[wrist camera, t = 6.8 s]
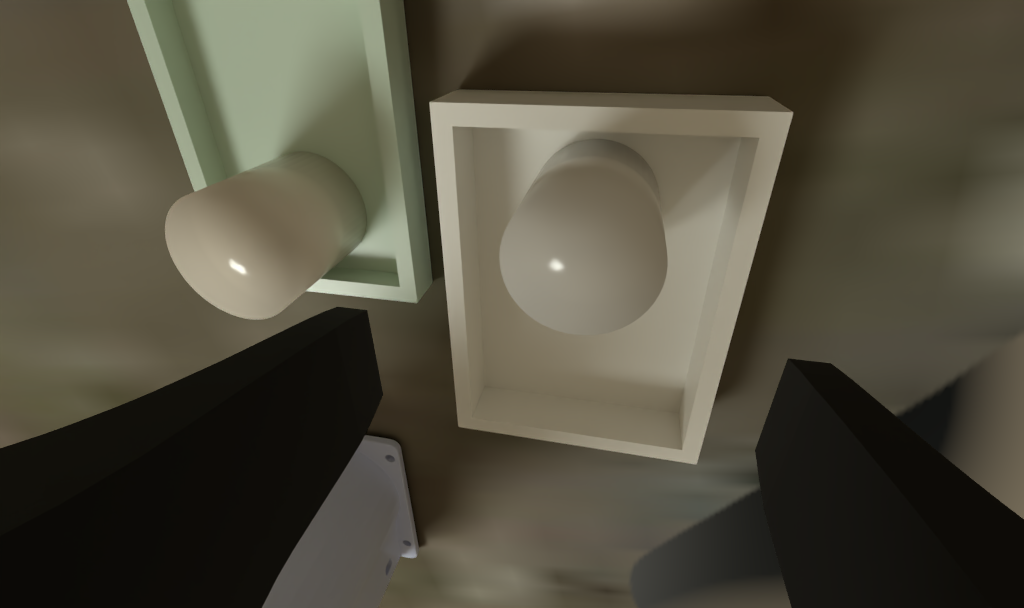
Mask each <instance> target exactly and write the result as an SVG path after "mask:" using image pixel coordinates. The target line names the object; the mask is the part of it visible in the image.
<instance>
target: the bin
mask: <svg viewBox="0 0 1024 608" xmlns="http://www.w3.org/2000/svg"><path fill="white" fill-rule="evenodd" d="M429 104H430V115H431V127H432V138H433V149H434V160H435V172H436V183H437V194H438V205H439V216H440V228H441V239H442V250H443V261H444V273H445V284H446V295H447V306H448V318H449V329H450V340H451V351H452V362H453V374H454V385H455V396H456V407H457V419H458V427H462V428H469V429H475V430H481V431H488V432H494V433H500V434H507V435H513V436H519V437H526V438H532V439H538V440H545V441H551V442H557V443H564V444H570V445H576V446H583V447H589V448H595V449H602V450H608V451H614V452H621V453H627V454H633V455H640V456H646V457H652V458H659V459H665V460H671V461H678V462H684V463H690V464H697V461H698V458H699V454H700V450H701V447H702V443H703V439H704V436H705V432H706V428H707V425H708V421H709V418H710V414H711V410H712V407H713V403H714V399H715V396H716V392H717V389H718V385H719V381H720V378H721V374H722V370H723V367H724V363H725V359H726V356H727V352H728V349H729V345H730V341H731V338H732V334H733V330H734V327H735V323H736V320H737V316H738V312H739V309H740V305H741V301H742V298H743V294H744V290H745V287H746V283H747V280H748V276H749V272H750V269H751V265H752V261H753V258H754V254H755V251H756V247H757V243H758V240H759V236H760V232H761V229H762V225H763V221H764V218H765V214H766V211H767V207H768V203H769V200H770V196H771V192H772V189H773V185H774V182H775V178H776V174H777V171H778V167H779V163H780V160H781V156H782V152H783V149H784V145H785V142H786V138H787V134H788V131H789V127H790V123H791V120H792V116H793V112H792V111H791V110H789V109H788V108H786V107H785V106H783V105H782V104H780V103H779V102H777V101H775V100H774V99H772V98H771V97H769V96H732V95H688V94H644V93H599V92H555V91H511V90H467V89H457V90H455V91H453V92H451V93H448V94H446V95H444V96H442V97H440V98H437V99H435V100H433V101H431V102H429ZM587 139H606V140H612V141H615V142H619V143H621V144H624V145H626V146H628V147H630V148H631V149H633V150H634V151H636V152H637V153H638V154H639V155H641V156H642V157H643V159H644V160H645V161H646V162H647V163H648V165H649V166H650V167H651V169H652V171H653V173H654V175H655V177H656V180H657V183H658V187H659V193H660V200H661V208H662V216H663V224H664V232H665V240H666V248H667V257H668V267H667V274H666V279H665V282H664V286H663V288H662V290H661V292H660V294H659V296H658V298H657V299H656V301H655V302H654V304H653V305H652V306H651V307H650V308H649V310H648V311H647V312H646V313H644V314H643V315H642V316H641V317H640V318H638V319H637V320H636V321H634V322H633V323H631V324H629V325H627V326H625V327H623V328H621V329H618V330H615V331H613V332H609V333H604V334H598V335H574V334H568V333H563V332H560V331H557V330H553V329H551V328H549V327H547V326H544V325H543V324H541V323H539V322H537V321H536V320H534V319H533V318H531V317H530V316H529V315H527V314H526V313H525V312H524V311H523V310H522V309H521V308H520V307H519V306H518V305H517V303H516V302H515V301H514V300H513V298H512V297H511V295H510V294H509V292H508V290H507V288H506V286H505V283H504V280H503V278H502V274H501V269H500V259H499V255H500V245H501V241H502V237H503V234H504V232H505V229H506V227H507V225H508V224H509V222H510V220H511V218H512V217H513V215H514V213H515V212H516V210H517V208H518V207H519V205H520V203H521V202H522V200H523V198H524V197H525V195H526V193H527V192H528V190H529V188H530V187H531V185H532V183H533V182H534V180H535V178H536V177H537V175H538V173H539V172H540V170H541V168H542V167H543V166H544V164H545V163H546V162H547V161H548V160H549V159H550V158H551V157H552V156H553V155H554V154H555V153H556V152H558V151H559V150H560V149H562V148H564V147H566V146H567V145H570V144H572V143H575V142H578V141H582V140H587Z"/></svg>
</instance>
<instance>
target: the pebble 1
mask: <svg viewBox="0 0 1024 608" xmlns="http://www.w3.org/2000/svg"><path fill="white" fill-rule="evenodd" d="M366 226H367V214H366V208H365V204H364V201H363V198H362V196H361V194H360V192H359V190H358V188H357V186H356V185H355V183H354V182H353V181H352V179H351V178H350V177H349V176H348V175H347V174H346V172H345V171H344V170H342V169H341V168H340V167H339V166H338V165H336V164H335V163H334V162H332V161H331V160H329V159H327V158H325V157H323V156H320V155H318V154H314V153H311V152H303V151H301V152H291V153H288V154H285V155H283V156H280V157H278V158H276V159H273V160H271V161H268V162H266V163H263V164H261V165H259V166H256V167H254V168H251V169H249V170H246V171H244V172H242V173H239V174H237V175H234V176H232V177H229V178H227V179H225V180H222V181H220V182H217V183H215V184H212V185H210V186H208V187H205V188H203V189H200V190H198V191H195V192H193V193H191V194H188V195H186V196H183V197H182V198H180V199H179V200H177V201H176V202H175V203H174V204H173V205H172V207H171V208H170V210H169V212H168V214H167V217H166V222H165V237H166V242H167V246H168V249H169V252H170V255H171V257H172V259H173V261H174V263H175V265H176V267H177V269H178V270H179V272H180V273H181V275H182V276H183V277H184V279H185V280H186V281H187V282H188V283H189V285H190V286H191V287H192V288H193V289H194V290H195V291H196V292H197V293H198V294H199V295H201V296H202V297H203V298H204V299H205V300H207V301H208V302H209V303H211V304H212V305H214V306H216V307H217V308H219V309H221V310H223V311H225V312H227V313H229V314H232V315H234V316H238V317H241V318H246V319H256V320H257V319H266V318H270V317H273V316H275V315H277V314H279V313H280V312H281V311H283V310H284V309H285V308H286V307H287V306H289V305H290V304H291V303H292V302H293V301H294V300H296V299H297V298H298V297H299V296H300V295H301V294H303V293H304V292H305V291H306V290H307V289H309V288H310V287H311V286H312V285H313V284H314V283H316V282H317V281H318V280H319V279H320V278H321V277H323V276H324V275H325V274H326V273H327V272H328V271H330V270H331V269H332V268H333V267H334V266H336V265H337V264H338V263H339V262H340V261H341V260H343V259H344V258H345V257H346V256H347V255H348V254H350V253H351V252H352V251H353V250H354V249H355V248H356V247H357V246H358V245H359V244H360V243H361V241H362V239H363V237H364V235H365V232H366Z"/></svg>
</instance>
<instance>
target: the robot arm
mask: <svg viewBox="0 0 1024 608" xmlns="http://www.w3.org/2000/svg"><path fill="white" fill-rule="evenodd" d="M382 396H383V392H382V387H381V381H380V376H379V371H378V365H377V360H376V355H375V350H374V344H373V339H372V334H371V328H370V323H369V318H368V313H367V310H360V309H352V308H343V307H336V308H333V309H330V310H328V311H325V312H323V313H320V314H318V315H316V316H314V317H311V318H309V319H307V320H305V321H303V322H301V323H298V324H296V325H294V326H292V327H290V328H288V329H286V330H284V331H282V332H280V333H278V334H276V335H274V336H272V337H270V338H268V339H265V340H263V341H261V342H259V343H257V344H255V345H253V346H251V347H249V348H247V349H245V350H243V351H241V352H239V353H237V354H235V355H233V356H231V357H228V358H226V359H224V360H222V361H220V362H218V363H216V364H214V365H211V366H209V367H207V368H205V369H203V370H200V371H198V372H196V373H194V374H191V375H189V376H187V377H185V378H183V379H180V380H178V381H176V382H174V383H172V384H169V385H167V386H165V387H163V388H160V389H158V390H156V391H154V392H152V393H149V394H147V395H144V396H142V397H140V398H137V399H135V400H133V401H130V402H128V403H125V404H123V405H120V406H118V407H115V408H113V409H110V410H108V411H105V412H102V413H100V414H97V415H94V416H92V417H89V418H87V419H84V420H81V421H79V422H76V423H73V424H71V425H68V426H65V427H63V428H60V429H57V430H54V431H52V432H49V433H46V434H43V435H40V436H37V437H34V438H31V439H28V440H25V441H22V442H19V443H16V444H13V445H10V446H6V447H3V448H0V608H378V607H379V605H380V602H381V600H382V598H383V595H384V593H385V591H386V588H387V586H388V584H389V581H390V579H391V577H392V575H393V572H394V570H395V568H396V565H397V563H398V561H399V558H400V556H403V557H407V558H415V557H417V555H418V552H419V546H418V540H417V535H416V529H415V524H414V518H413V512H412V507H411V501H410V496H409V490H408V484H407V479H406V473H405V468H404V462H403V456H402V451H401V447H400V445H399V443H398V442H396V441H395V440H392V439H387V438H381V437H375V436H369V435H365V434H366V432H367V430H368V427H369V425H370V423H371V421H372V419H373V417H374V414H375V412H376V410H377V408H378V405H379V403H380V401H381V398H382ZM755 452H756V459H757V467H758V474H759V482H760V488H761V494H762V500H763V506H764V511H765V515H766V519H767V523H768V526H769V530H770V533H771V537H772V541H773V544H774V548H775V551H776V555H777V558H778V562H779V565H780V568H781V572H782V576H783V579H784V582H785V586H786V589H787V592H788V596H789V600H790V603H791V607H792V608H1024V519H1022V518H1021V517H1020V516H1019V515H1017V514H1016V513H1015V512H1013V511H1012V510H1010V509H1009V508H1008V507H1007V506H1005V505H1004V504H1003V503H1001V502H1000V501H999V500H998V499H996V498H995V497H994V496H992V495H991V494H990V493H989V492H987V491H986V490H985V489H984V488H982V487H981V486H980V485H979V484H977V483H976V482H975V481H974V480H972V479H971V478H970V477H969V476H967V475H966V474H965V473H964V472H962V471H961V470H960V469H959V468H957V467H956V466H955V465H954V464H952V463H951V462H950V461H949V460H948V459H946V458H945V457H944V456H943V455H942V454H940V453H939V452H938V451H937V450H935V449H934V448H933V447H932V446H931V445H929V444H928V443H927V442H926V441H924V440H923V439H922V438H921V437H920V436H919V435H917V434H916V433H915V432H914V431H912V430H911V429H910V428H909V427H908V426H907V425H905V424H904V423H903V422H902V421H901V420H900V419H898V418H897V417H896V416H895V415H894V414H892V413H891V412H890V411H889V410H888V409H886V408H885V407H884V406H883V405H882V404H881V403H879V402H878V401H877V400H876V399H875V398H873V397H872V396H871V395H870V394H869V393H867V392H866V391H865V390H864V389H863V388H861V387H860V386H859V385H858V384H857V383H855V382H854V381H853V380H852V379H850V378H849V377H848V376H847V375H845V374H844V373H843V372H842V371H840V370H839V369H837V368H836V367H835V366H833V365H832V364H831V363H822V362H814V361H805V360H796V359H788V360H787V363H786V366H785V368H784V371H783V374H782V377H781V380H780V382H779V385H778V388H777V391H776V394H775V396H774V399H773V402H772V405H771V408H770V410H769V413H768V416H767V419H766V422H765V424H764V427H763V430H762V433H761V436H760V438H759V441H758V444H757V447H756V450H755Z"/></svg>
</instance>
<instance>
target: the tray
mask: <svg viewBox="0 0 1024 608" xmlns="http://www.w3.org/2000/svg"><path fill="white" fill-rule="evenodd" d="M127 2H128V5H129V7H130V10H131V13H132V16H133V19H134V22H135V24H136V27H137V30H138V33H139V36H140V39H141V41H142V44H143V47H144V50H145V53H146V55H147V58H148V61H149V64H150V67H151V70H152V72H153V75H154V78H155V81H156V84H157V87H158V89H159V92H160V95H161V98H162V101H163V104H164V106H165V109H166V112H167V115H168V118H169V121H170V123H171V126H172V129H173V132H174V135H175V138H176V140H177V143H178V146H179V149H180V152H181V155H182V157H183V160H184V163H185V166H186V169H187V171H188V174H189V177H190V180H191V183H192V186H193V188H194V191H198V190H200V189H203V188H205V187H208V186H210V185H212V184H215V183H217V182H220V181H222V180H225V179H227V178H229V177H232V176H234V175H237V174H239V173H242V172H244V171H246V170H249V169H251V168H254V167H256V166H259V165H261V164H263V163H266V162H268V161H271V160H273V159H276V158H278V157H280V156H283V155H285V154H288V153H291V152H301V151H303V152H311V153H314V154H318V155H320V156H323V157H325V158H327V159H329V160H331V161H332V162H334V163H335V164H336V165H338V166H339V167H340V168H341V169H342V170H344V171H345V172H346V174H347V175H348V176H349V177H350V178H351V179H352V181H353V182H354V183H355V185H356V186H357V188H358V190H359V192H360V194H361V196H362V198H363V201H364V204H365V208H366V214H367V226H366V232H365V235H364V237H363V239H362V241H361V243H360V244H359V245H358V246H357V247H356V248H355V249H354V250H353V251H352V252H351V253H350V254H348V255H347V256H346V257H345V258H344V259H343V260H341V261H340V262H339V263H338V264H337V265H336V266H334V267H333V268H332V269H331V270H330V271H328V272H327V273H326V274H325V275H324V276H323V277H321V278H320V279H319V280H318V281H317V282H316V283H314V284H313V285H312V286H311V287H310V288H309V289H307V290H306V291H312V292H321V293H330V294H339V295H348V296H357V297H366V298H375V299H384V300H393V301H402V302H412V303H418V302H419V300H420V299H421V298H422V296H423V295H424V294H425V292H426V291H427V290H428V288H429V287H430V286H431V284H432V283H433V279H432V270H431V260H430V251H429V241H428V231H427V222H426V212H425V203H424V193H423V183H422V174H421V164H420V155H419V145H418V135H417V126H416V116H415V107H414V97H413V87H412V78H411V68H410V59H409V49H408V39H407V30H406V20H405V11H404V1H403V0H127Z"/></svg>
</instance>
